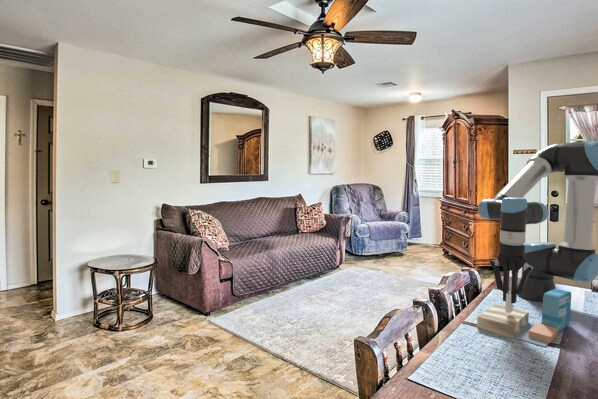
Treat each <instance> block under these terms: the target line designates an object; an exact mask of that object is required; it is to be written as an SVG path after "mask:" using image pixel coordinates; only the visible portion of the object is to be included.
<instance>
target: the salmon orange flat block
mask: <svg viewBox="0 0 598 399" xmlns="http://www.w3.org/2000/svg"><path fill="white" fill-rule="evenodd" d="M534 324H535V325H534V326H533V327H532V328H531V329H530V330H529V335H528V337H531V338H534V339H538V340H541V341H545V342H548V343H549V344H551V343H552V342H553V341H554V339H556V337H558V334H559V332H558V328H554V327H551V326H547V325H543V324H542V323H539V322H536V323H534Z"/></svg>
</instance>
